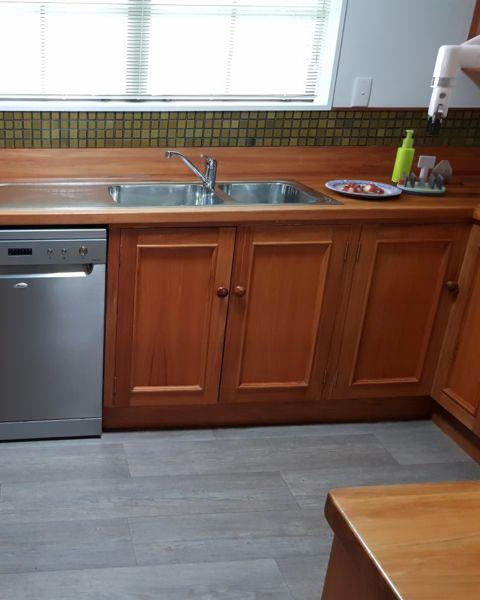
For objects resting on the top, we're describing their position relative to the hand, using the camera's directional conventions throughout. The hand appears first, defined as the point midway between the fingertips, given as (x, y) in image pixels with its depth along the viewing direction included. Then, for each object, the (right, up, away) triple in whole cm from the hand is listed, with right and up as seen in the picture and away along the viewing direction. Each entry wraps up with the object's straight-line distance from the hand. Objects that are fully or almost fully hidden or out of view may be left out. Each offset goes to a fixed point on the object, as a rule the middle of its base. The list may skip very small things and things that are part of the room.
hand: (431, 133), depth 219 cm
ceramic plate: (-23, -21, +5) cm, 32 cm away
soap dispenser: (+2, -13, +26) cm, 29 cm away
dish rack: (0, -19, +8) cm, 20 cm away
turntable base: (0, -20, +8) cm, 21 cm away
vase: (+17, -13, +24) cm, 33 cm away
